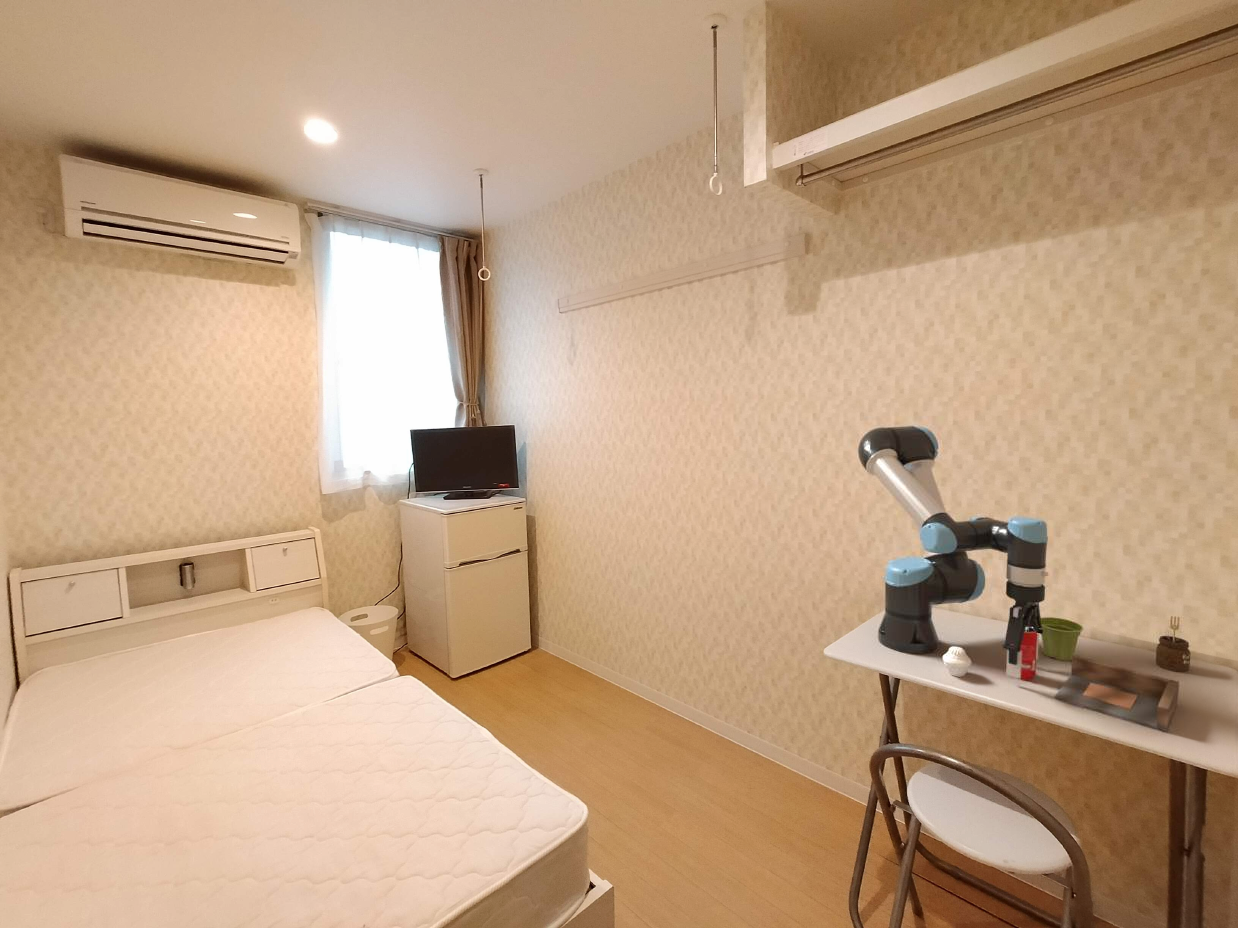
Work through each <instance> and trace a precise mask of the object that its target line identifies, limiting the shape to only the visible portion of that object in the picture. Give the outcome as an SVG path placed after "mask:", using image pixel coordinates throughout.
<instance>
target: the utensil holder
mask: <svg viewBox="0 0 1238 928" xmlns="http://www.w3.org/2000/svg"><path fill="white" fill-rule="evenodd" d="M1166 629H1167V630H1166V631H1168V632H1170V631H1171V630H1173V632H1172V634H1173V635H1161V636H1159V639H1158V644H1157V645H1156V650H1155V651H1156V652H1155V662H1156V665H1157V666H1159V667H1160V668H1163V669H1165V670H1169V671H1172V672H1178V673H1180V672H1181V673H1186V672H1187V671H1189V669H1190V666H1191V652H1190V649H1189V647H1190V643H1189V641H1187V640H1185V639H1183V638H1181V637H1180V636H1181V635H1182V634H1181V630H1180V617H1179V616H1174V617H1173V615H1170V625H1169V626H1168V627H1167V628H1166ZM1176 631H1177V636H1176Z"/></svg>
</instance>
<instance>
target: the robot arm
mask: <svg viewBox="0 0 1238 928" xmlns="http://www.w3.org/2000/svg"><path fill="white" fill-rule="evenodd" d="M857 450H858V451H857V452H858V459H859V461H860V463H861V465H862V467H863V468H864V470H865V471H867V473H868V474H870V475H872V476H876V478H877V479H878V481H880V483H881V484H882V485H883V486H884V487H885V488H886V490H887V491H888V492H889V493H890V494H891V495H892V497H893V498H894V499H895V500H896V501H897V503H898V504H899V505H900V506H901V507H902V509H903V510H904V511H905V512H906V513H907V515H909V516H910V518H911V519H912V520H913V521H914V523H915V525H916V529H917V532H918V534H919V540H920V541H921V545H922V547H923V550H924V554H923V555H922V557H916V556H913V557H909V556H906V557H898V558H895V559H893V560H891V561H889V562H888V563H887V565H886V567H885V574H884V583H885V586H884V590H885V591H884V592H885V594H884V595H885V596H884V598H885V599H884V615H883V617H882V619H881V623H880V625H879V628H878V630H877V640H878V639H879V640H878V642H879V643H881V644H882V645H883V646H884V647H887V648H889V649H892V650H895V651H899V652H902V653H909V654H929V653H934V652H935V651H937V650H938V649H939V641H940V640H939V636H938V633H937V631H936V628H935V624H934V621H933V617H932V614H933V613H932V612H933V611H932V610H933V606H937V605H946V604H947V605H948V604H956V603H958V604H963V603H966V602H971V601H975V600H977V599H978V598H979V597H981V596H982V594H983V591H984V590H985V587H986V574H985V571H984V569H983V567H982V566H981V565H980V563H978V562H977V561H976V560H975V559H971V558H969V555H968V553H967V552H968V551H970V552H971V551H972V552H973V551H981V550H982V551H983V550H984V551H985V550H993V551H997V552H999V553H1004V554H1006V557H1007V559H1006V575H1005V576H1006V577H1005V578H1006V579H1007V580H1006V585H1005V595H1006V596H1007V597H1008V598H1010V599H1012V600H1014V601H1015V603H1014V604H1013V605H1012V606H1010V607H1009V614H1008V615H1009V616H1008V622H1007V628H1006V634H1005V640H1004V644H1002V648H1003V649H1004V650H1006V668H1005V669H1006V674H1005V675H1007V676H1010V677H1013V678H1016V679H1018V678H1019V679H1020V678H1021V659H1022V651H1020V648H1021V644H1022V640H1023V636H1024V632H1025V628H1026V626H1029V627H1032V628H1034V629H1035V630H1036V633H1037V651H1036V661H1038V659H1039V641H1040V640H1039V638H1040V635H1041V634H1043V630H1042V629H1041V628H1042V625H1041V618H1042V617H1041V610H1040V603H1041V602H1043V601H1045V600H1046V599H1045V597H1046V586H1045V585H1044V584H1045V583H1046V577H1048V576H1049V572H1048V571H1046V567H1047V565H1046V563H1047V561H1046V560H1047V548H1048V540H1049V538H1048V527H1047V526H1048V525H1047V523H1046V521H1044V520H1043V519H1040V518H1038V517H1029V516H1013V517H1011V518H1009V520H1008V521H1002V520H998V519H994V518H991V517H987V516H973V517H971V518H970V519H968V520H967V521H966V520H964V521H963V520H961V521H956V520H954V519H953V517H952V516H951V515H949V513H948V512H947V511H946V508H945V505H944V502H943V499H942V495H941V493H940V491H939V487H938V485H937V482H936V479H935V476H934V473H933V470H932V469H933V468H934V466H935V464H936V462H935V459H936V458H937V457H938V453H939V451H938V450H939V443H938V440H937V437H936V435H935V434H934V433H933V432H932V431H931V430H930V429H929V428H926V427H924V426H920V425H919V426H917V425H916V426H915V425H906V426H893V427H890V426H889V427H884V426H883V427H878V428H877V427H876V428H873V429H871V430H869V431H868V432H867V433H866V434H864V435H863V437H861V440H860V441H859V444H858V449H857ZM1011 644H1012V645H1011ZM1020 680H1021V679H1020Z"/></svg>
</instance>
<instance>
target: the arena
mask: <svg viewBox="0 0 1238 928" xmlns="http://www.w3.org/2000/svg"><path fill="white" fill-rule="evenodd" d="M1179 685H1180V681H1178V680H1177V681H1176V680H1174V679H1169V678H1164V677H1161V676H1157V675H1155V674H1154V675H1153V674H1148V673H1145V672H1141V671H1139V670H1138V671H1137V670H1133V669H1129V668H1126V667H1123V666H1122V667H1121V666H1118V665H1114V664H1110V663H1105V662H1101V661H1099V660H1093V659H1090V658H1087V657H1081V656H1079V655H1075V654H1074V656H1073V657H1072V659H1071V674H1070V676H1069V677H1068V679H1066V681H1065V683H1064V684H1063V685H1062V686H1061V687H1060V689H1059V690H1058V692H1057V693H1056V694H1055V696H1054V699H1056V700H1059V701H1061V702H1064V703H1069V704H1071V705H1075V706H1078V707H1081V708H1084V709H1085V708H1086V709H1088V710H1091V711H1095V712H1098V713H1100V714H1101V713H1102V714H1105V715H1108V716H1111V717H1114V718H1117V719H1121V720H1122V721H1123V720H1124V721H1127V722H1131V723H1133V724H1137V725H1140V726H1144V727H1146V726H1147V727H1146V728H1149V729H1153V730H1156V729H1158V730H1157V731H1159V730H1160V731H1159V732H1163V733H1166V734H1167V733H1168V730H1169V727H1170V725H1171V722H1172V719H1173V716H1174V714H1175V712H1176V709H1177V707H1178V701H1179V700H1178V699H1179Z"/></svg>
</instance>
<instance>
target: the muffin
mask: <svg viewBox="0 0 1238 928" xmlns="http://www.w3.org/2000/svg"><path fill="white" fill-rule="evenodd" d="M942 660H943V665H944V666H945V668H946V670H947V671H948V674H949V675H952V676H954V677H959V678H960V677H964V676H965V675H966V674H967V672H968V671H969V670H970V667H971V665H972V660H971V658H970V657H969V656H968V655H967V654H966V651H965V649H964V648H962V647H959V646H951V647H949V648H948V651H947V652H945V654H943V656H942Z"/></svg>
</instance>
